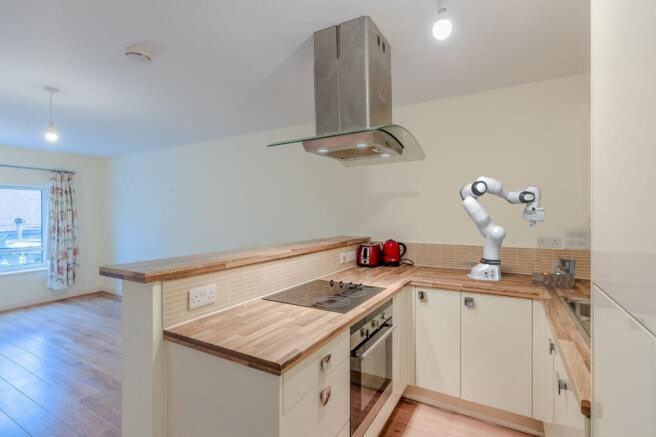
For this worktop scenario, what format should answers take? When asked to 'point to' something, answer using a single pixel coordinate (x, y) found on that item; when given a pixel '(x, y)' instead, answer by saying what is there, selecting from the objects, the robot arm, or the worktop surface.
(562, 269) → the coffee box
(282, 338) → the worktop surface
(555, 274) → the peg
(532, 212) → the robot arm
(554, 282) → the socket block
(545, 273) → the peg
